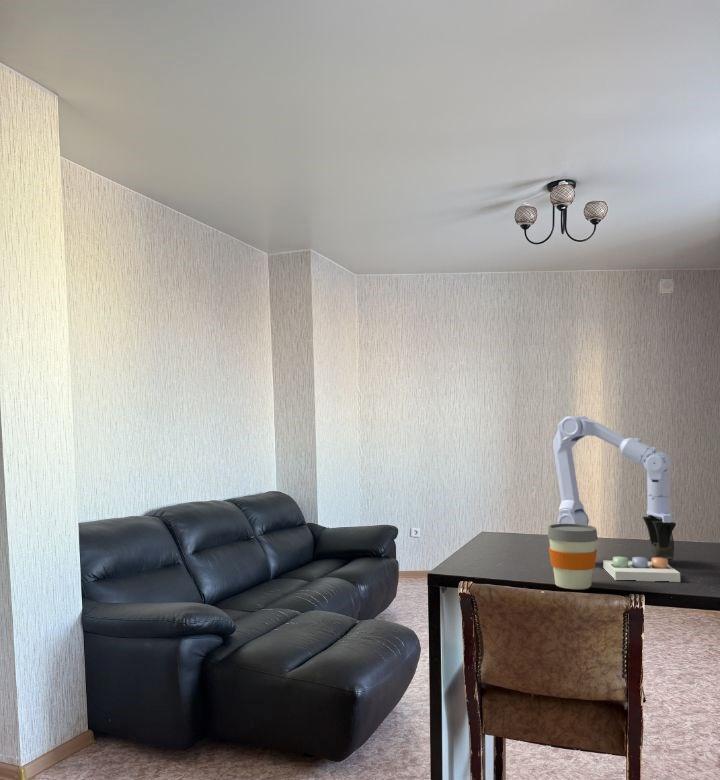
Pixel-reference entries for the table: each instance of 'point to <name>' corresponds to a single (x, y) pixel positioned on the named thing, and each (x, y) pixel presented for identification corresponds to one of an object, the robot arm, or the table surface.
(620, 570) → the panel
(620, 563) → the sage button
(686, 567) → the table surface
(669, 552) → the alarm clock
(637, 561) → the slate button
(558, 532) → the reusable coffee cup
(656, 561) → the terracotta button
